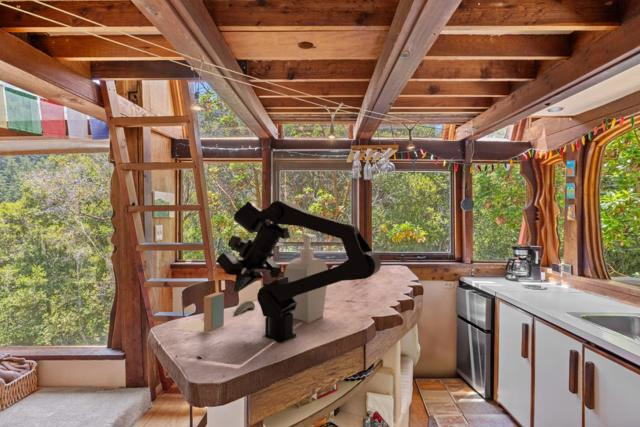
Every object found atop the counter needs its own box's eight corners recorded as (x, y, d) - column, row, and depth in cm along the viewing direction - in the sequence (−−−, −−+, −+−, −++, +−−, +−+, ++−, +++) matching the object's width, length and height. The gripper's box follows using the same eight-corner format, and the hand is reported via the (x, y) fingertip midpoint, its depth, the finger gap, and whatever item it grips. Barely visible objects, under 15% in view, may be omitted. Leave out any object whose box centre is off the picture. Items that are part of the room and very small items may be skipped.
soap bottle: (301, 311, 122) (302, 232, 122) (328, 315, 117) (328, 233, 117) (278, 320, 111) (279, 233, 112) (307, 325, 106) (307, 234, 107)
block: (224, 325, 104) (224, 292, 104) (211, 331, 98) (211, 297, 98) (216, 324, 104) (217, 292, 104) (203, 330, 99) (204, 296, 99)
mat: (229, 326, 105) (229, 324, 105) (210, 335, 96) (210, 333, 96) (193, 322, 109) (194, 320, 109) (172, 331, 100) (172, 328, 100)
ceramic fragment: (235, 320, 113) (235, 307, 113) (220, 318, 114) (220, 305, 114) (256, 310, 126) (256, 298, 126) (243, 308, 128) (243, 297, 128)
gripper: (270, 231, 109) (245, 274, 112) (220, 221, 94) (192, 271, 97) (293, 253, 103) (265, 298, 106) (243, 246, 88) (213, 298, 91)
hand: (235, 291), depth 100 cm, fingers closed
